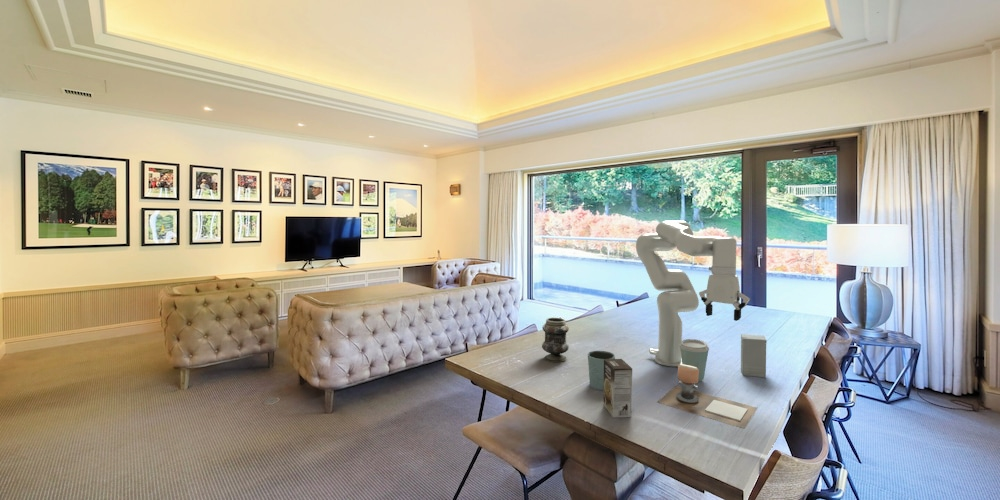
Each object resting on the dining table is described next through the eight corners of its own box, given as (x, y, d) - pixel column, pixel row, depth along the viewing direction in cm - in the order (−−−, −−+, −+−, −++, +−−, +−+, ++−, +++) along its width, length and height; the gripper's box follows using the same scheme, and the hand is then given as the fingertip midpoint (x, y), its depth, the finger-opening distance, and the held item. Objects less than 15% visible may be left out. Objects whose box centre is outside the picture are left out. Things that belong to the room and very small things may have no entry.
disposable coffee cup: (706, 387, 150) (708, 348, 149) (675, 381, 156) (676, 343, 155) (709, 378, 159) (710, 340, 158) (679, 372, 165) (680, 336, 164)
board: (656, 404, 136) (656, 402, 136) (675, 388, 149) (675, 385, 149) (744, 432, 119) (744, 428, 119) (757, 410, 132) (757, 407, 132)
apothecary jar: (572, 357, 184) (573, 318, 183) (562, 365, 174) (562, 324, 173) (548, 352, 191) (549, 315, 189) (537, 359, 181) (537, 320, 179)
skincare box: (763, 372, 164) (764, 334, 163) (766, 379, 158) (768, 339, 157) (739, 369, 168) (740, 332, 167) (741, 375, 161) (742, 337, 160)
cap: (674, 379, 137) (675, 366, 137) (681, 374, 142) (681, 361, 142) (694, 385, 133) (695, 370, 133) (700, 379, 138) (701, 365, 137)
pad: (704, 411, 130) (704, 409, 130) (713, 400, 137) (713, 399, 137) (740, 421, 123) (740, 420, 123) (747, 410, 130) (747, 408, 130)
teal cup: (599, 393, 146) (600, 360, 145) (581, 383, 155) (581, 352, 154) (620, 387, 151) (621, 356, 150) (601, 378, 159) (602, 348, 159)
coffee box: (602, 405, 136) (603, 358, 135) (620, 404, 137) (621, 357, 136) (612, 418, 127) (613, 368, 126) (631, 417, 128) (632, 367, 127)
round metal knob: (673, 399, 138) (673, 379, 137) (680, 393, 143) (680, 374, 142) (694, 406, 133) (695, 385, 133) (701, 399, 138) (702, 379, 138)
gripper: (695, 270, 151) (694, 315, 152) (745, 274, 137) (743, 323, 138) (705, 268, 156) (704, 312, 157) (754, 272, 142) (753, 320, 143)
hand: (722, 317), depth 147 cm, fingers open, 9 cm apart
